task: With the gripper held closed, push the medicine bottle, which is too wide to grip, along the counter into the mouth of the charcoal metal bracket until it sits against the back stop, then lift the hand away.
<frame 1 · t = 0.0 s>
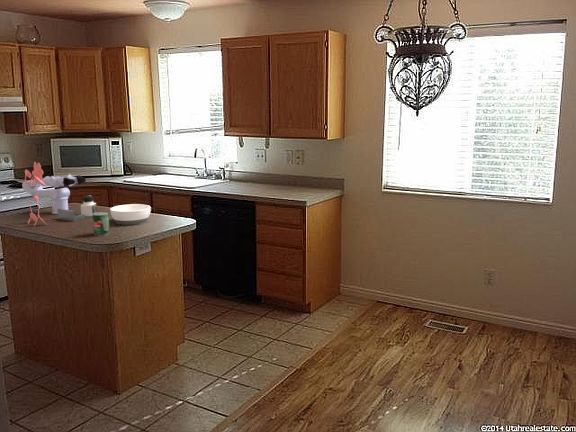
hand: (79, 180, 318), 22 cm above the countertop, tool horizontal, fingers open, 7 cm apart
bowl: (131, 222, 308), on the countertop
bracket: (74, 218, 316), on the countertop
canned tomato: (101, 234, 279), on the countertop
medicine bottle: (89, 215, 326), on the countertop
figurine: (43, 223, 305), on the countertop
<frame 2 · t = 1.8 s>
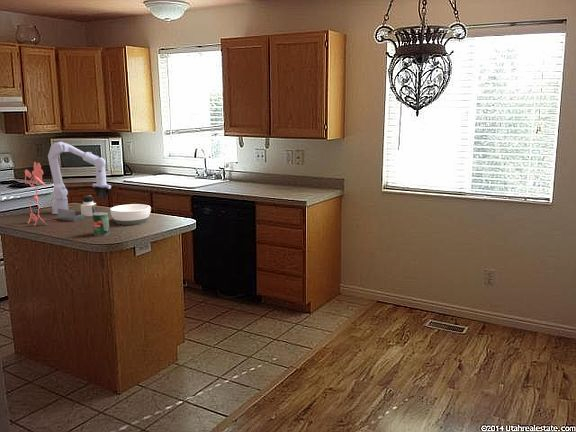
hand: (102, 199, 333), 8 cm above the countertop, tool pointing down, fingers open, 5 cm apart
nothing on the countertop moved.
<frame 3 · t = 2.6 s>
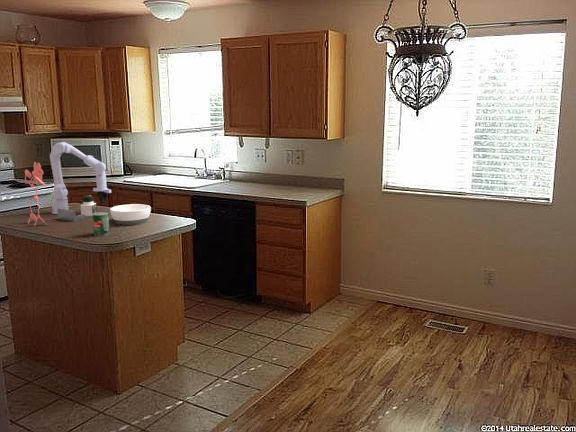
hand: (103, 203, 334), 6 cm above the countertop, tool pointing down, fingers closed
nothing on the countertop moved.
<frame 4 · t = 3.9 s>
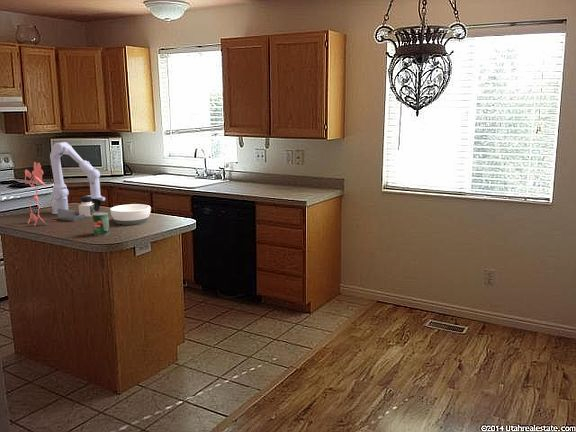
hand: (96, 211, 330), 2 cm above the countertop, tool pointing down, fingers closed
medicine bottle: (87, 216, 324), on the countertop, touching gripper
everything else where it was.
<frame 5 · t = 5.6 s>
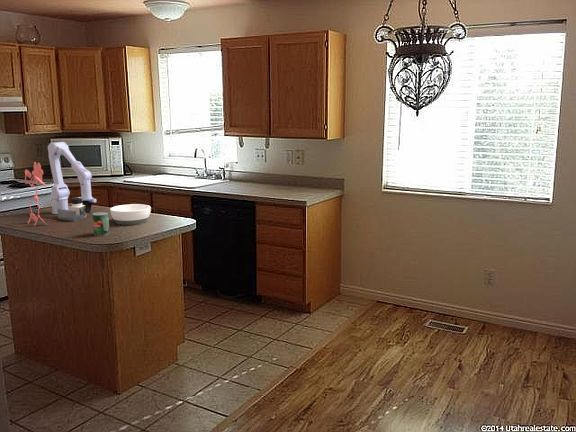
hand: (88, 212, 324), 2 cm above the countertop, tool pointing down, fingers closed
medicine bottle: (78, 217, 319), on the countertop, touching gripper
everything else where it was.
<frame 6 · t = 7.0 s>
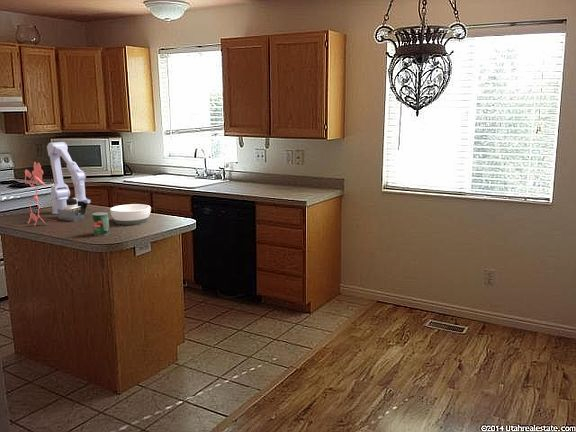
hand: (82, 214, 320), 2 cm above the countertop, tool pointing down, fingers closed on medicine bottle
medicine bottle: (73, 218, 316), on the countertop, touching bracket, gripper
everything else where it was.
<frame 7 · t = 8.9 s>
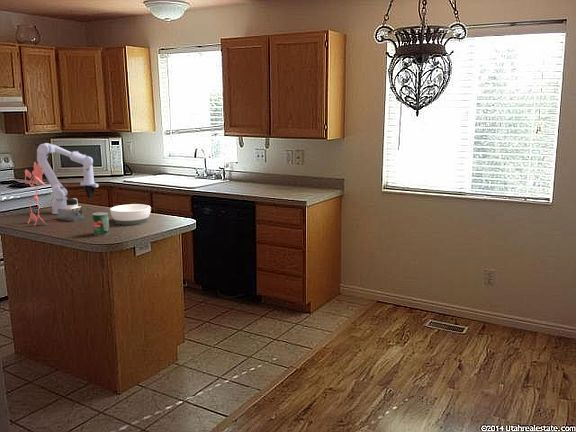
hand: (90, 197, 333), 9 cm above the countertop, tool pointing down, fingers closed
medicine bottle: (73, 219, 316), on the countertop
everything else where it was.
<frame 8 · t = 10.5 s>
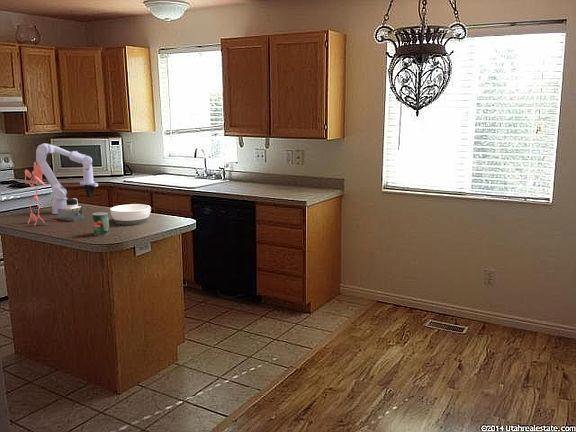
hand: (90, 197, 334), 9 cm above the countertop, tool pointing down, fingers closed
nothing on the countertop moved.
at the end: medicine bottle 0.7 cm off-centre on the bracket, point 0.0 cm above the bracket's base; medicine bottle tilted 0° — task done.
